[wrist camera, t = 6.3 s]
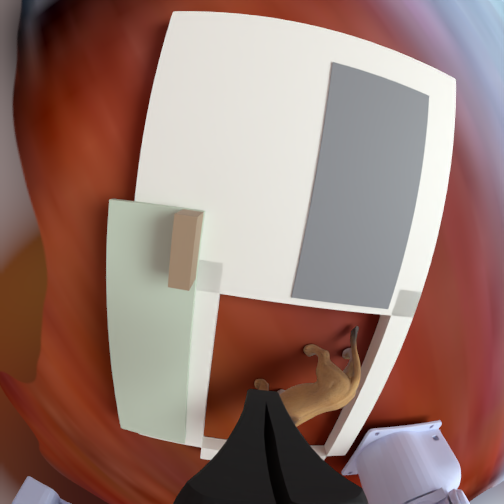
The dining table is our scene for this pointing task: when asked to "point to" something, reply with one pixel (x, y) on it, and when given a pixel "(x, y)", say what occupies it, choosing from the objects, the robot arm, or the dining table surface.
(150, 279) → the shutter
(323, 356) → the lion figurine
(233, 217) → the puzzle board
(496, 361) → the dining table surface
